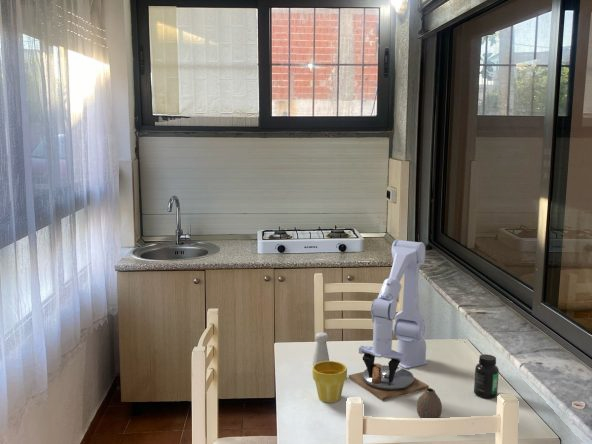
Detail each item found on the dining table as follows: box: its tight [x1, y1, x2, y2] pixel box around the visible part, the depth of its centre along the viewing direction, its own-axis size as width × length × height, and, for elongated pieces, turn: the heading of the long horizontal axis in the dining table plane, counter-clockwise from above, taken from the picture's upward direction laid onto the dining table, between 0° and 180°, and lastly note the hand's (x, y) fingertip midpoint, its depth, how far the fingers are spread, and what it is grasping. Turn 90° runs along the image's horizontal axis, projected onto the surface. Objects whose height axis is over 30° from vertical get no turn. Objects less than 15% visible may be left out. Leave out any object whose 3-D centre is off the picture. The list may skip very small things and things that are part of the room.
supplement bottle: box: [473, 354, 500, 400], centre depth 183 cm, size 7×7×12 cm
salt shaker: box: [312, 331, 330, 367], centre depth 198 cm, size 6×6×13 cm
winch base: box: [348, 371, 430, 402], centre depth 191 cm, size 18×18×1 cm
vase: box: [416, 387, 443, 419], centre depth 167 cm, size 7×7×9 cm
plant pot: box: [312, 360, 348, 404], centre depth 179 cm, size 10×10×10 cm
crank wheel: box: [362, 363, 414, 390], centre depth 190 cm, size 16×16×7 cm
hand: (381, 379), depth 185 cm, fingers open, 6 cm apart
